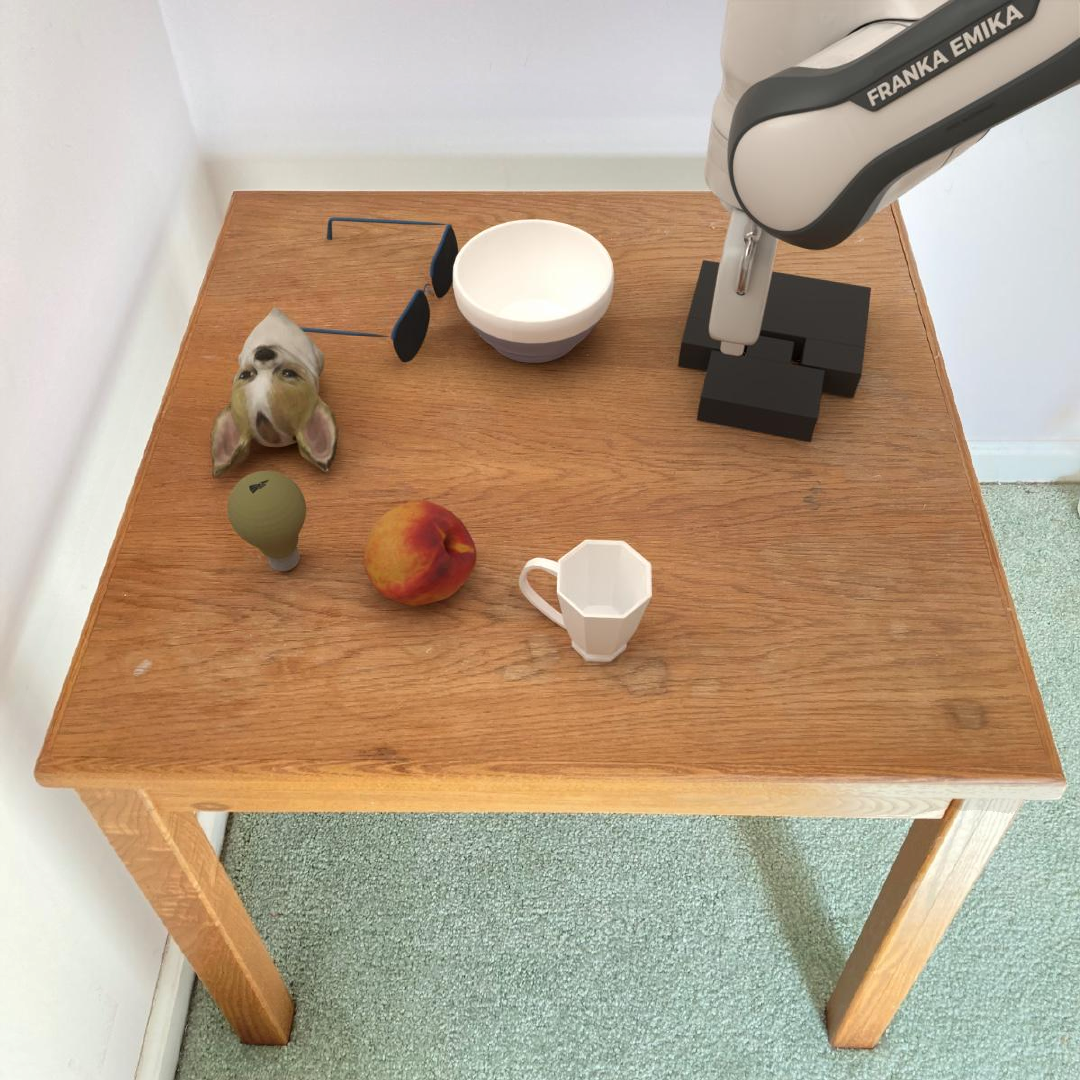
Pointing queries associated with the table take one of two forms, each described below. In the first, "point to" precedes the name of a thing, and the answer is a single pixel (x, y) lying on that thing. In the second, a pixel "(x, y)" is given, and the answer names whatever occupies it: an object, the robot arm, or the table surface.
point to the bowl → (533, 287)
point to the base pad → (793, 325)
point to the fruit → (419, 553)
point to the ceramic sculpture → (275, 398)
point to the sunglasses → (417, 312)
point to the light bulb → (269, 516)
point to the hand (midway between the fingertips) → (740, 310)
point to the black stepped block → (762, 391)
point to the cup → (596, 595)
